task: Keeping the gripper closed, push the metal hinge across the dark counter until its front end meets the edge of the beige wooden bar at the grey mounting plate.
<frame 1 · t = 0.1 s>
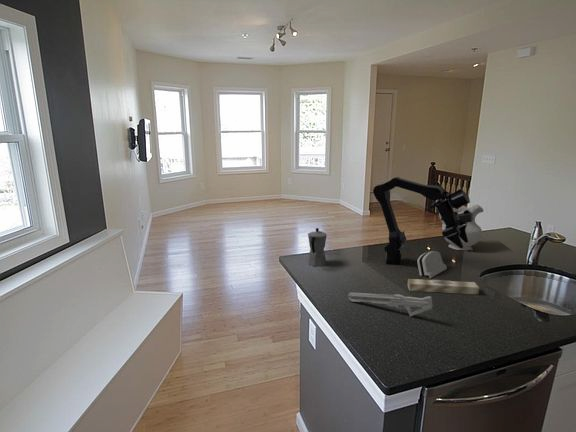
hand: (464, 245, 151), 15 cm above the worktop, tool tilted 30°, fingers open, 9 cm apart
ceramic pitcher: (457, 247, 194), on the worktop
gun: (387, 310, 128), on the worktop
beige wooden bar: (441, 289, 143), on the worktop
coffeepot: (316, 264, 173), on the worktop
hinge: (430, 271, 162), on the worktop
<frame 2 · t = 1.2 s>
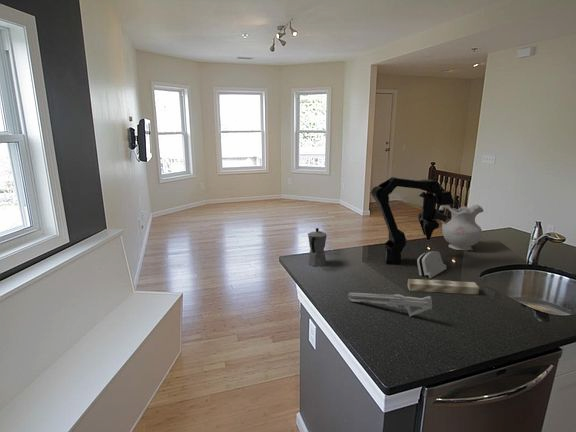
hand: (426, 237, 173), 12 cm above the worktop, tool pointing down, fingers open, 8 cm apart
nothing on the worktop moved.
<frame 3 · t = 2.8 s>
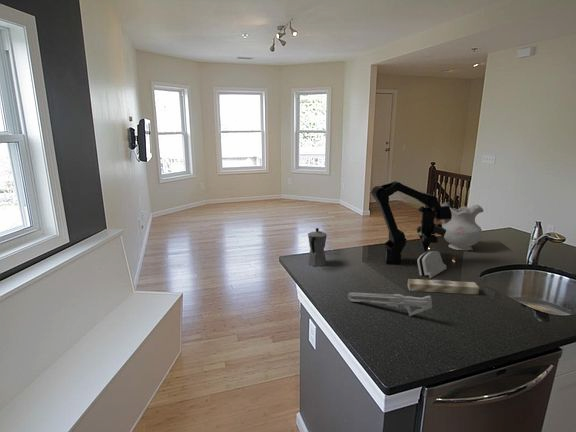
hand: (425, 250, 174), 5 cm above the worktop, tool pointing down, fingers closed
nothing on the worktop moved.
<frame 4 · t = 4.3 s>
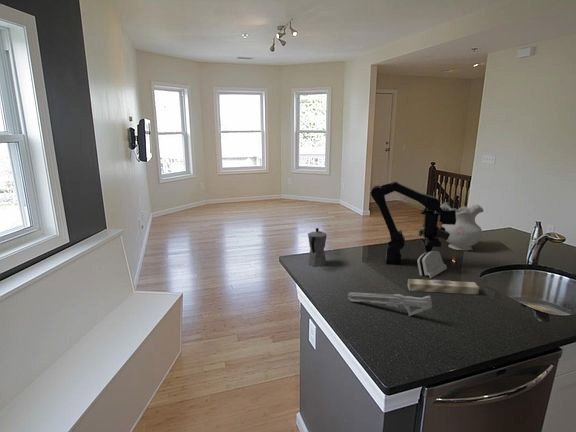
hand: (428, 255, 168), 5 cm above the worktop, tool pointing down, fingers closed
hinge: (430, 271, 162), on the worktop, touching gripper
everything else where it was.
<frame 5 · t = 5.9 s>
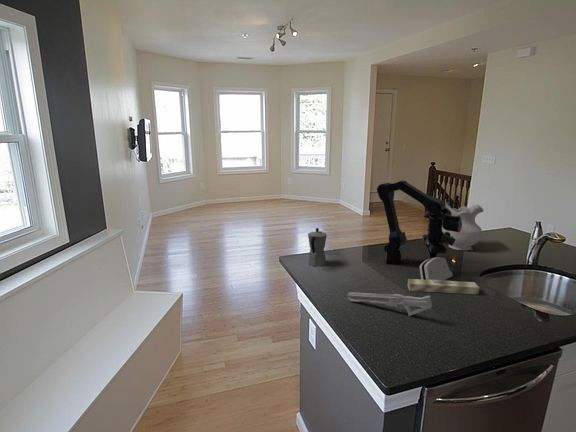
hand: (432, 261, 160), 5 cm above the worktop, tool pointing down, fingers closed
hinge: (434, 278, 155), on the worktop
everything else where it was.
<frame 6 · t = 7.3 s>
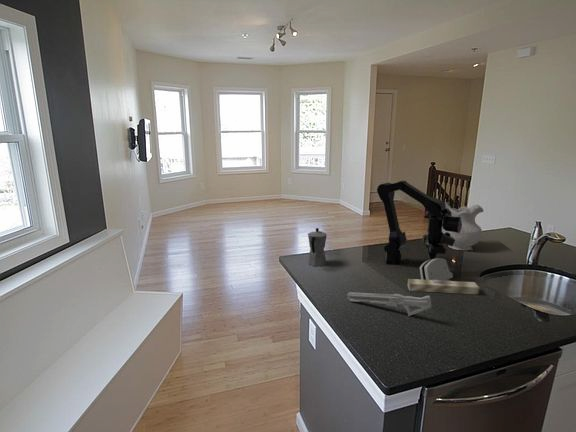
hand: (431, 261, 160), 5 cm above the worktop, tool pointing down, fingers closed
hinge: (434, 279, 154), on the worktop
everything else where it was.
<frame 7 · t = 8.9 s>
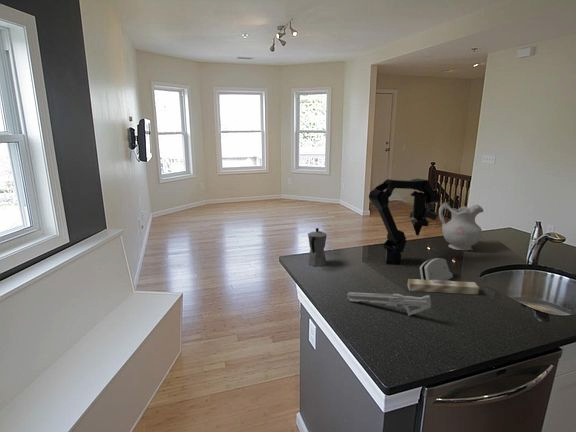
hand: (417, 235, 176), 12 cm above the worktop, tool pointing down, fingers closed
nothing on the worktop moved.
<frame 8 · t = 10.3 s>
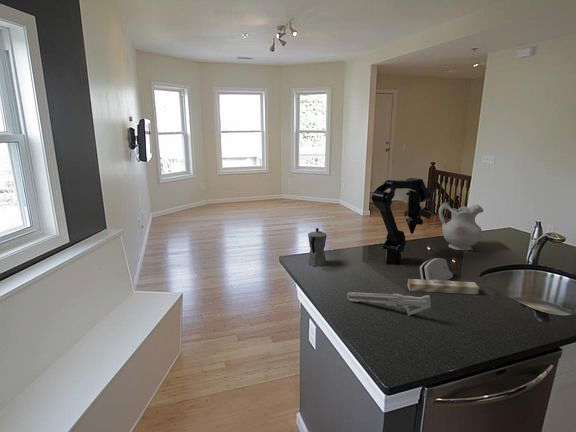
hand: (411, 233, 179), 12 cm above the worktop, tool pointing down, fingers closed
nothing on the worktop moved.
at the end: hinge inside the target area (1.0 cm from its centre), on the worktop; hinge moved 9.0 cm from its start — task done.
